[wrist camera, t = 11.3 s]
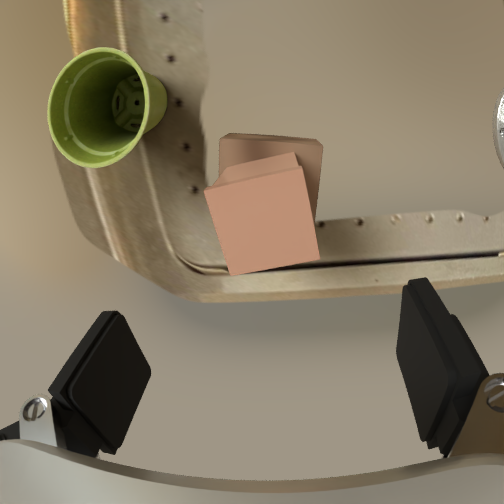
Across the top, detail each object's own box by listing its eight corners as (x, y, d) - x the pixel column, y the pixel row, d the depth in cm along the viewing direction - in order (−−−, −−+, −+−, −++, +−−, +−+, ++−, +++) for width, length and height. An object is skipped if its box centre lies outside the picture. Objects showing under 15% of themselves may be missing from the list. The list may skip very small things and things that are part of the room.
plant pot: (183, 150, 29) (148, 169, 21) (99, 149, 29) (49, 169, 21) (188, 55, 24) (153, 39, 17) (101, 63, 25) (48, 59, 17)
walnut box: (316, 139, 27) (323, 146, 23) (307, 219, 31) (312, 240, 27) (229, 133, 28) (219, 138, 23) (227, 213, 32) (218, 232, 27)
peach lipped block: (295, 149, 23) (302, 168, 17) (310, 217, 26) (320, 259, 19) (224, 165, 24) (203, 190, 18) (243, 230, 27) (230, 275, 20)
